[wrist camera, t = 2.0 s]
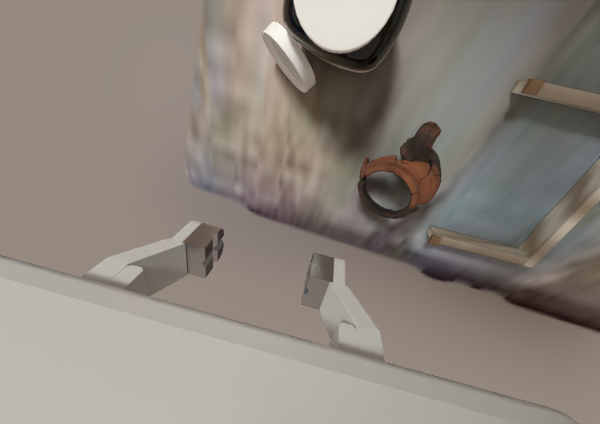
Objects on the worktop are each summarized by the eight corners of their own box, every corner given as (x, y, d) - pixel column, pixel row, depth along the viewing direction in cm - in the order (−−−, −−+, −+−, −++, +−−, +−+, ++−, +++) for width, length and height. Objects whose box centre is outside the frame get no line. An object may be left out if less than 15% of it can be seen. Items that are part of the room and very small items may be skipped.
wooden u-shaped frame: (512, 78, 24) (533, 78, 22) (655, 111, 24) (694, 114, 21) (422, 231, 35) (429, 243, 32) (520, 255, 34) (535, 270, 32)
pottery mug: (428, 202, 33) (409, 237, 28) (368, 176, 37) (343, 203, 32) (478, 120, 25) (463, 151, 20) (394, 97, 28) (364, 118, 24)
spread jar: (408, 2, 23) (458, -58, 13) (351, 114, 29) (356, 132, 19) (298, -57, 22) (262, -170, 12) (263, 70, 28) (218, 65, 18)
